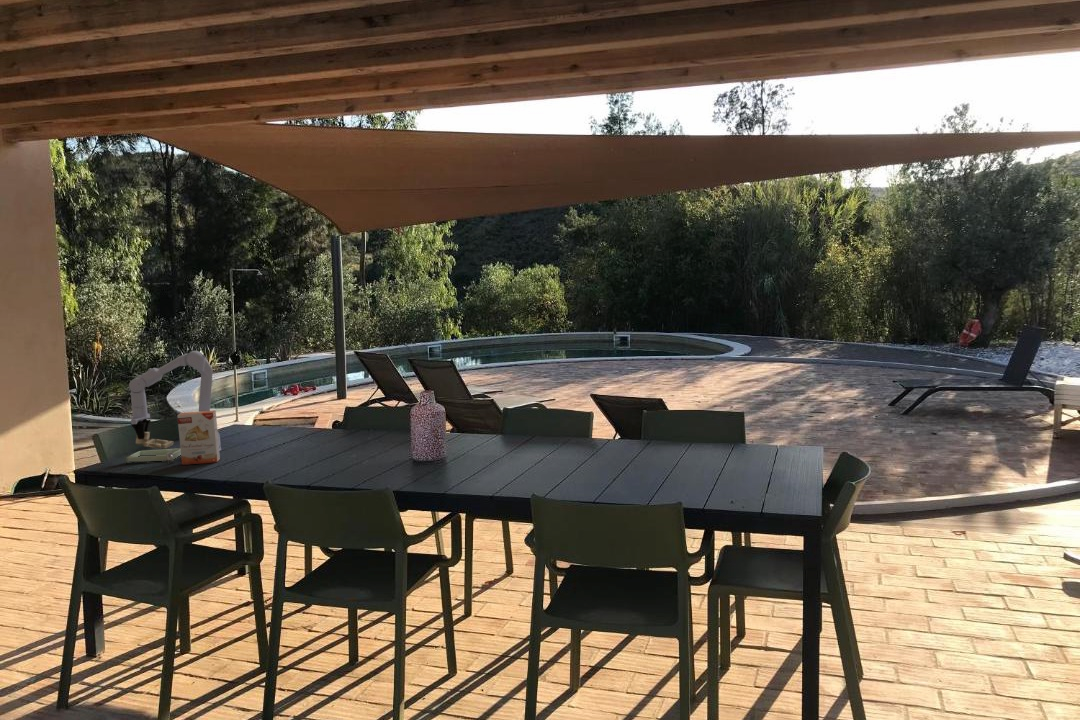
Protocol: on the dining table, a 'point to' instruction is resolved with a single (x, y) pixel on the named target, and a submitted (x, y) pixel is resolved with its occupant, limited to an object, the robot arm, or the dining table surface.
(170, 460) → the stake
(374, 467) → the dining table surface
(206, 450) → the cracker box
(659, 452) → the dining table surface
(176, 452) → the tray
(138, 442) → the tan joined block frame
